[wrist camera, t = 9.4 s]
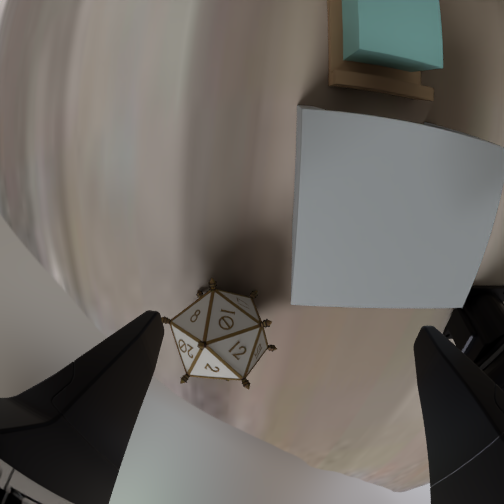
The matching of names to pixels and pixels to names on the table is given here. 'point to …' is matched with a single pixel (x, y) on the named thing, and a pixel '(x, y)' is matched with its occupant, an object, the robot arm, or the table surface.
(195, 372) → the game die
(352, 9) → the block
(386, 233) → the tunnel
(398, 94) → the tan plank with cube
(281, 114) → the table surface
